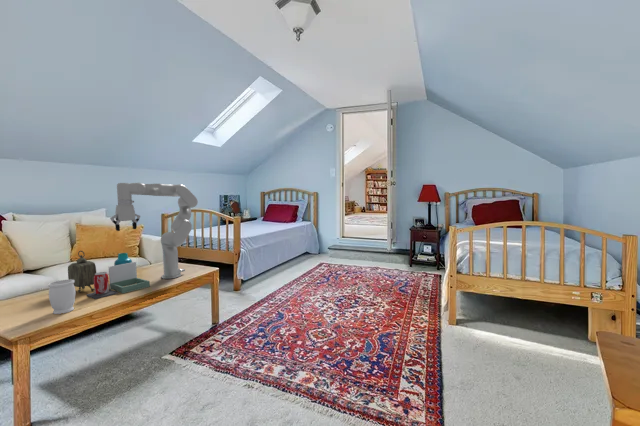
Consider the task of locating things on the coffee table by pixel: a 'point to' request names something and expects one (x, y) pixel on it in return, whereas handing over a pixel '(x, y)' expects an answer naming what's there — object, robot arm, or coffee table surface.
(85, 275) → the tabletop clock
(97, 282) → the soda can
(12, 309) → the coffee table surface
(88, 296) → the mat
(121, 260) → the vase
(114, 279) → the tray
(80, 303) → the coffee table surface
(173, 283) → the coffee table surface
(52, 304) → the jar
